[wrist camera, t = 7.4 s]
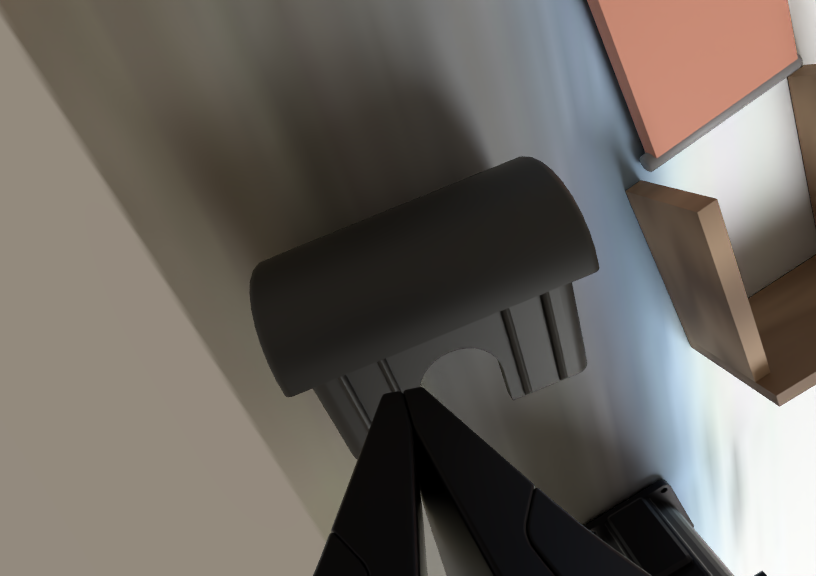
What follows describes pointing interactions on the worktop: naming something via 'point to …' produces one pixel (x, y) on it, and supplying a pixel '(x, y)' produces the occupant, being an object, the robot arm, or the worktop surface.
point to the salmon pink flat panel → (693, 63)
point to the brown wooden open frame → (737, 277)
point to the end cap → (430, 293)
